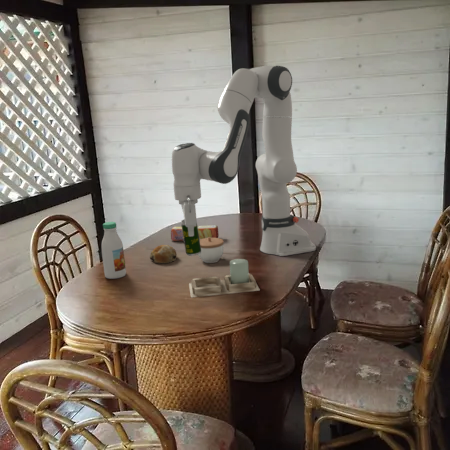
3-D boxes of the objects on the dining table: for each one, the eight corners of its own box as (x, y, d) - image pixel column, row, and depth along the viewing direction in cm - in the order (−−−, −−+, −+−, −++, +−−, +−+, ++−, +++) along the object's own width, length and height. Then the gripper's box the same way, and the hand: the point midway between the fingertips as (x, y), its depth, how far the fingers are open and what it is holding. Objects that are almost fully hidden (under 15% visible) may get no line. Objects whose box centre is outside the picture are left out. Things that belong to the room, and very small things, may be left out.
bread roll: (168, 273, 184) (175, 255, 182) (144, 262, 185) (151, 244, 183) (175, 264, 194) (182, 247, 191) (153, 254, 194) (159, 237, 192)
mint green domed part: (247, 280, 159) (246, 258, 157) (250, 287, 153) (249, 264, 151) (229, 282, 158) (228, 259, 156) (232, 289, 152) (231, 265, 150)
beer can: (193, 250, 167) (187, 217, 163) (204, 251, 163) (199, 218, 160) (182, 255, 163) (177, 221, 159) (194, 256, 159) (189, 222, 156)
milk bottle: (107, 281, 169) (101, 227, 164) (102, 274, 176) (96, 222, 171) (128, 276, 172) (122, 223, 167) (123, 270, 179) (117, 219, 174)
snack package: (170, 242, 212) (169, 227, 211) (174, 238, 219) (173, 224, 217) (217, 242, 209) (216, 227, 207) (219, 238, 215) (218, 223, 213)
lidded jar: (229, 261, 183) (228, 237, 181) (205, 267, 178) (203, 243, 175) (216, 254, 192) (214, 232, 190) (192, 259, 187) (190, 237, 184)
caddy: (253, 280, 162) (252, 271, 161) (260, 293, 151) (259, 284, 150) (189, 286, 160) (188, 277, 159) (191, 300, 148) (190, 291, 147)
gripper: (199, 198, 148) (202, 240, 151) (195, 187, 167) (197, 225, 171) (179, 200, 147) (182, 242, 151) (177, 188, 167) (180, 226, 170)
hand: (190, 233), depth 161 cm, fingers closed on beer can, 5 cm apart
